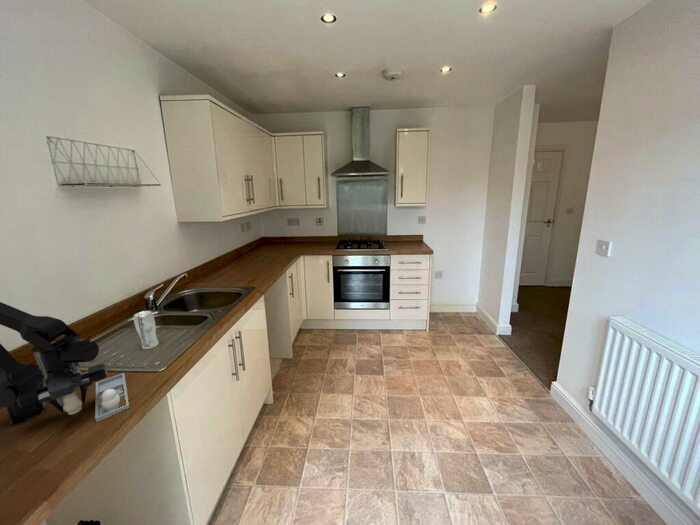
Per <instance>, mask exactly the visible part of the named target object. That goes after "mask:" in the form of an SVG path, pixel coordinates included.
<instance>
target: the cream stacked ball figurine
mask: <svg viewBox="0 0 700 525" xmlns="http://www.w3.org/2000/svg"><path fill="white" fill-rule="evenodd" d="M61 402H62V404H63V410H64V412H66V413H67V415H68V416H69V415H75V414H77V413H80V411H82V409H83V406H82V405H83V403H82V398H81V396H79V393H78V392H77V391H74V392H73V393H72V394H69V395H65V396H62V400H61Z"/></svg>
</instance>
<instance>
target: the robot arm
mask: <svg viewBox="0 0 700 525" xmlns="http://www.w3.org/2000/svg"><path fill="white" fill-rule="evenodd" d="M0 325H1V326H3V327H6V328H8V329H10V330H13V331H16V332H18V333H19V335H20V337H21V339H22V340H24V341H25V342H27V343H29V344H31V346H34V347H33V348H31V350H30V352H31V353H33V352H39V353H40V356H41V359H42V362H43V365H44V367H45V370H46V374H47V377H48V379H47V386H46V385H44V383H45V381H44V375H43V373H42V372H43V371H41V370H40V368H39V367H38V366H37V365H36V364H35V363H34V362H29V363H23V362H19V361H18V360H17V359H16V358H15V356H14V355H12V354H11V353H10V352H9V351H8V350H7V349H6V348H5V347H4V345H2V344H1V343H0V408H6V410H7V413H8V415H9V418H10V420H11V421H10V424H9V425H10V426H14V425H15V424H18V423H21V422H24V421H27V420H28V419H31V418H34V417H37V416H40V415H41V414H43V412H44V409H45V407H46V403H48V404H51V405H52V406H53V407H55V408H56V409H57V410H58V411H60V412H61V413H64V412H65V411H64V410H63V402H62V400H61V398H63V397H64V396H65V395H69V394H72V393H73V392H76V391H75V390H76V388H78V387H79V391H80V398H82V405H85V404H86V398H87V397H86V396H87V392H88V389H89V387H90V386H92V385H93V384H94V383H96V382H99V381H102V380H105V378H106V379H107V377H108V374H107V372H108V371H107V366H106V365H105V363H98V364H96V365H93V366H91V367H88V368H87V371H85V372H82V374H80V373H76V370H75V367H74V364H73V363H89V362H92V361H95V360H96V358H97V357H98V354H99V350H100V348H99V345H98V344H97V343H96V342H95V341H90V339H89V337H83V338H79V337H80V334H78V333H77V332H76V330H74V329H72V328H71V327H70V326H69V325H68V324H66V323H65V322H64V321H63V320H61V319H60V318H59V319H58V318H56V317H52V316H47V315H45V316H44V315H43V316H42V315H33V314H30V313H28V312H26V311H23V310H20V309H19V308H16V307H14V306H11V305H9V304H6V303H4V302H1V301H0Z"/></svg>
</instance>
